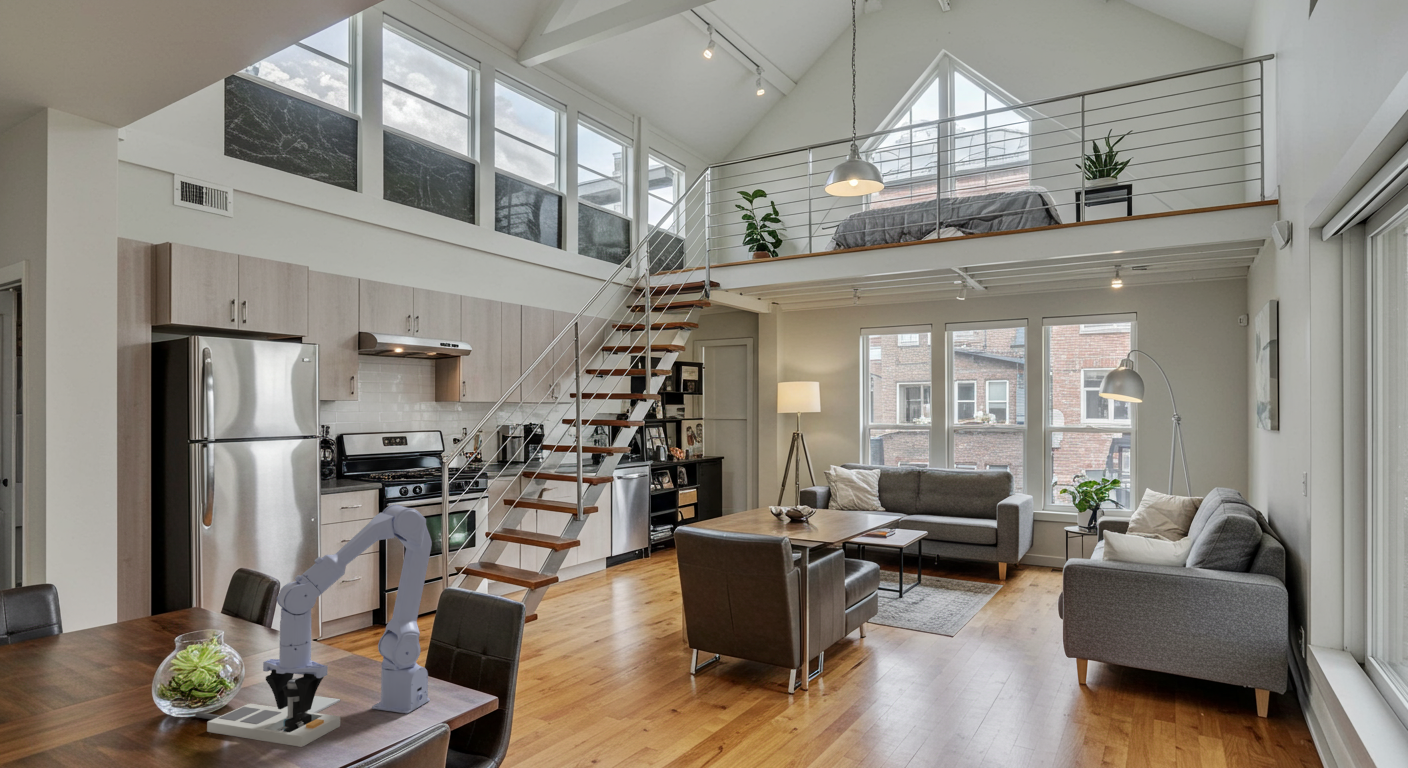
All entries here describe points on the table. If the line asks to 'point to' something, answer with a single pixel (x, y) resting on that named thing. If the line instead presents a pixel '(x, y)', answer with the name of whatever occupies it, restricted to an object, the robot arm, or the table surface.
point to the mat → (321, 703)
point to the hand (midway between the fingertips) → (294, 709)
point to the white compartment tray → (269, 725)
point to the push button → (294, 709)
